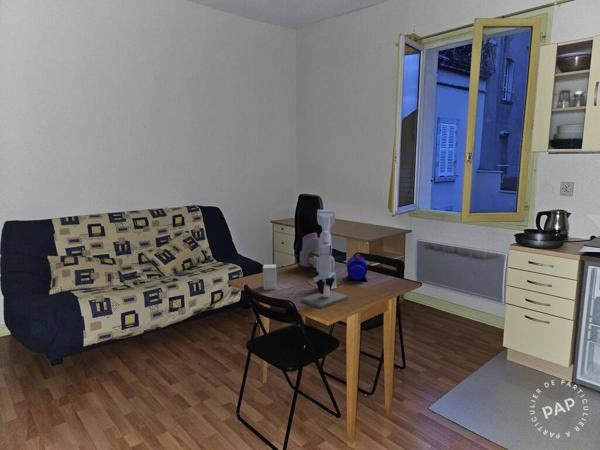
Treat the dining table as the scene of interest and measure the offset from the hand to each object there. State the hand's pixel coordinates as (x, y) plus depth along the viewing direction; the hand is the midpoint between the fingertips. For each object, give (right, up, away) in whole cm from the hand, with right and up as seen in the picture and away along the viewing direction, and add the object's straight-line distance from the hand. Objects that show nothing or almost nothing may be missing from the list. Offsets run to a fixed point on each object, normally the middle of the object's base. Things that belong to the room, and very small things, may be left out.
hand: (324, 292), depth 213 cm
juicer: (-3, +5, +55) cm, 56 cm away
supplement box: (-30, -1, +21) cm, 36 cm away
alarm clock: (+21, +2, +36) cm, 42 cm away
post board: (0, -4, +1) cm, 4 cm away
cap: (0, -1, 0) cm, 1 cm away
